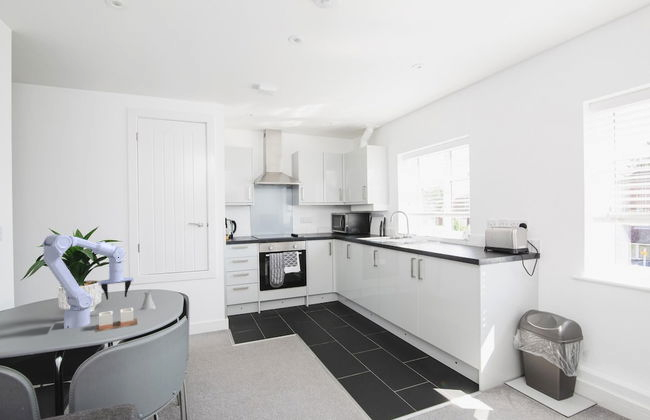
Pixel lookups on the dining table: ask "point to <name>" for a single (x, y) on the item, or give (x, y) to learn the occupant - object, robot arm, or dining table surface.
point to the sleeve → (127, 316)
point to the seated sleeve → (105, 320)
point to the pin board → (116, 325)
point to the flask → (148, 301)
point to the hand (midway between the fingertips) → (116, 297)
